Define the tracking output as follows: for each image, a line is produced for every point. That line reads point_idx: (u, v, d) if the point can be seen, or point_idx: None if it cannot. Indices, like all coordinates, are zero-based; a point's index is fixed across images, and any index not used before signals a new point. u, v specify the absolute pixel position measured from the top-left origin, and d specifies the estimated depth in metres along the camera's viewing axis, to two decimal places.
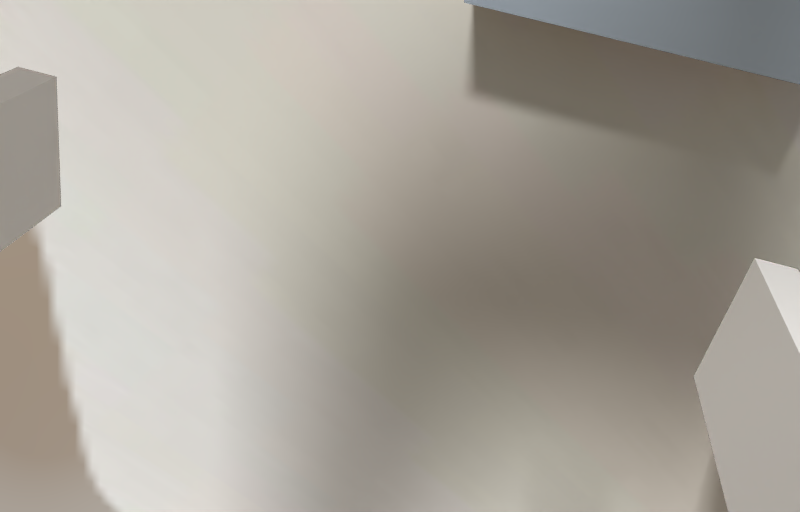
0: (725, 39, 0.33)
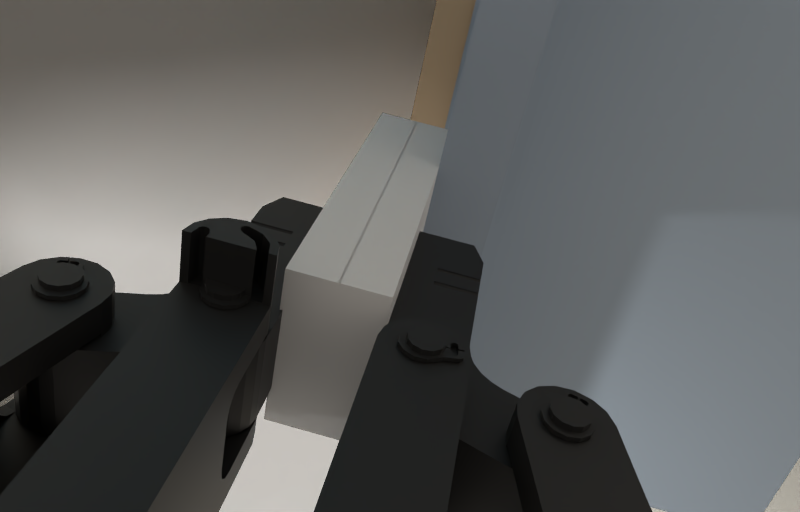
0: None
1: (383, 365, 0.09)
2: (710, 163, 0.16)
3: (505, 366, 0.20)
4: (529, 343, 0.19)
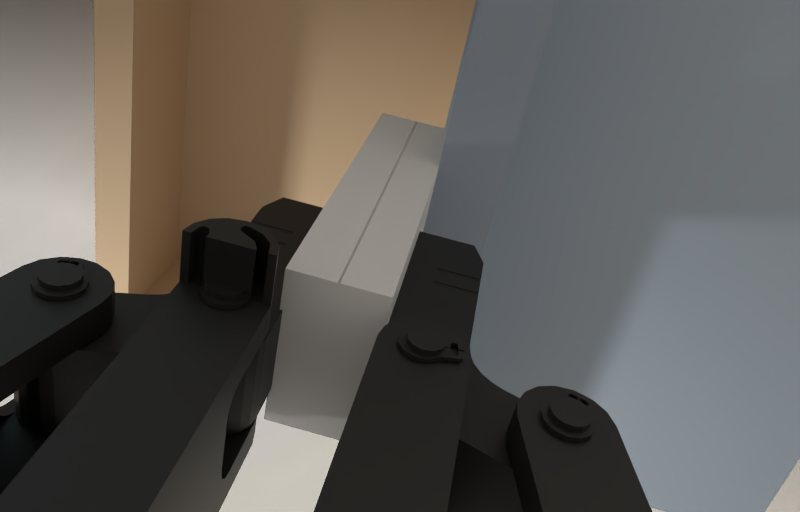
0: None
1: (383, 365, 0.09)
2: (711, 163, 0.16)
3: (505, 366, 0.20)
4: (529, 343, 0.19)
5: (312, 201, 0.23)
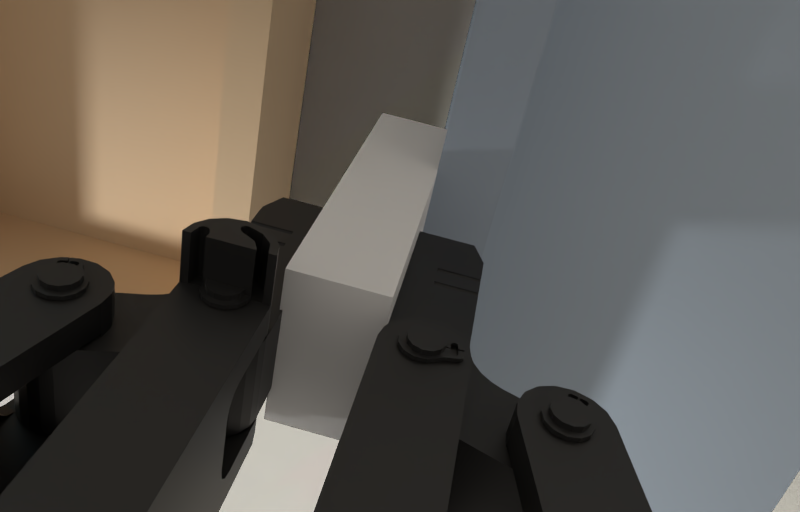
0: None
1: (383, 365, 0.09)
2: (714, 164, 0.16)
3: (506, 370, 0.20)
4: (530, 347, 0.19)
5: (108, 149, 0.24)
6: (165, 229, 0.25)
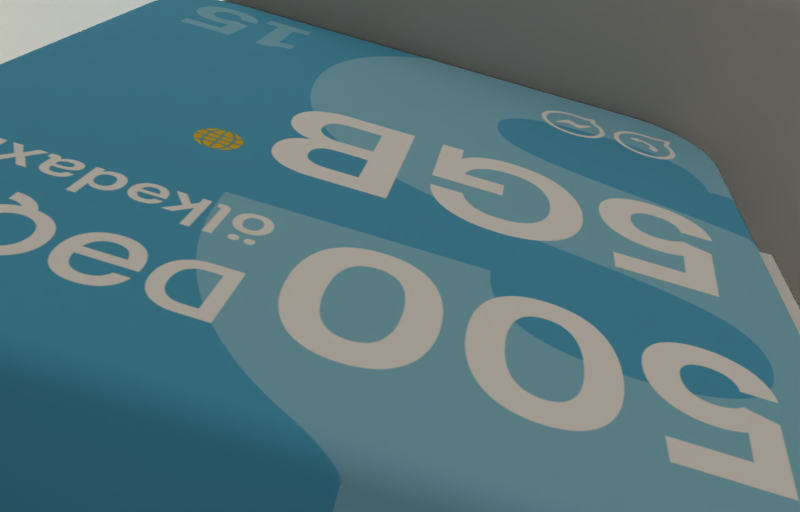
0: None
1: None
2: None
3: None
4: None
5: None
6: None
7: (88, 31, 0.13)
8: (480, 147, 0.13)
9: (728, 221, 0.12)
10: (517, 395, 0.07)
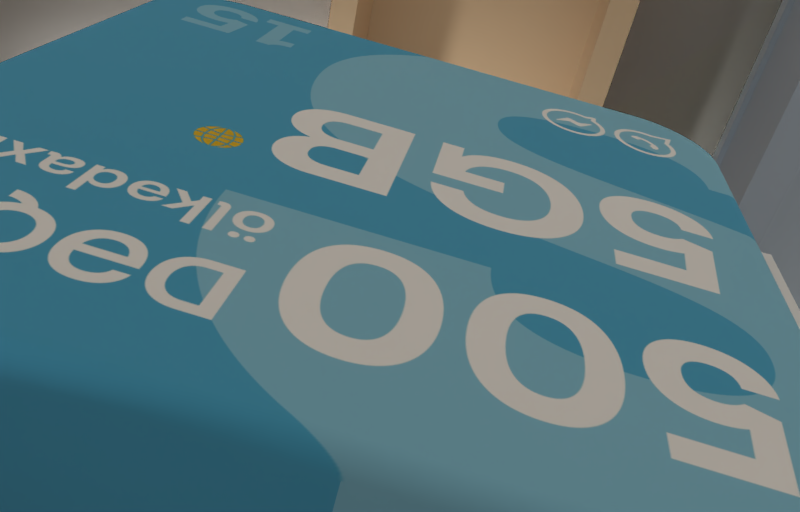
0: None
1: None
2: None
3: (761, 251, 0.30)
4: (781, 233, 0.29)
5: None
6: None
7: (88, 29, 0.13)
8: (480, 144, 0.13)
9: (729, 219, 0.12)
10: (519, 391, 0.07)
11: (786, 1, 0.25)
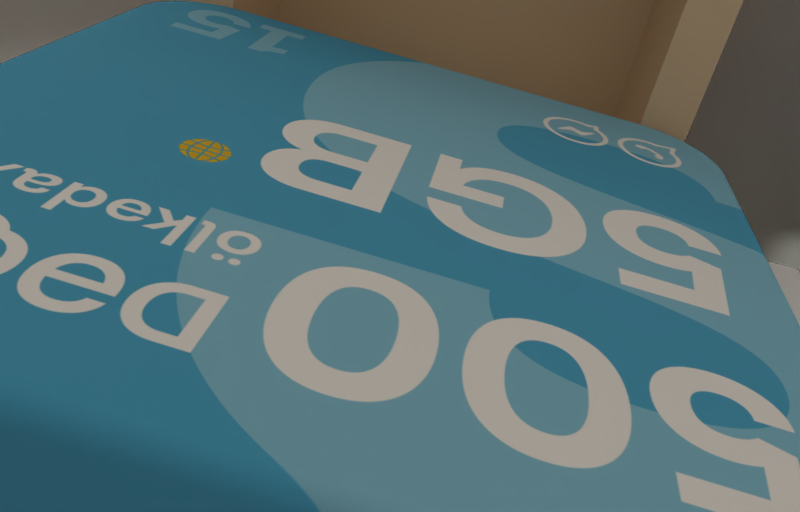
0: None
1: None
2: None
3: None
4: None
5: None
6: None
7: (73, 37, 0.13)
8: (478, 156, 0.12)
9: (737, 233, 0.12)
10: (519, 427, 0.07)
11: None
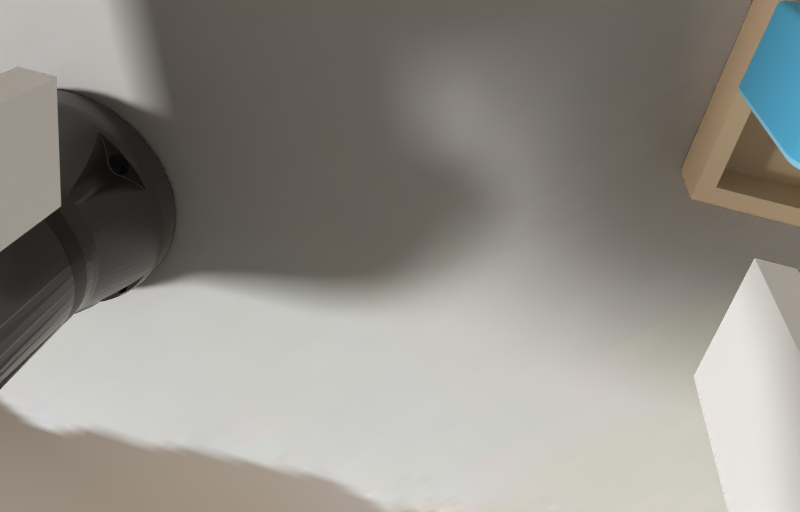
0: None
1: None
2: None
3: None
4: None
5: None
6: None
7: None
8: None
9: None
10: None
11: None
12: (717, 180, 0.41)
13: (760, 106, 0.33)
